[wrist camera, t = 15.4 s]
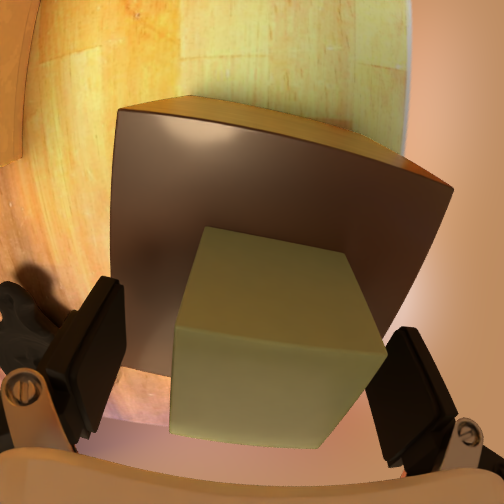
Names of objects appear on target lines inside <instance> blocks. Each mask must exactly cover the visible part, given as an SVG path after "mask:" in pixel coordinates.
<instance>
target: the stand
mask: <svg viewBox="0 0 504 504" xmlns="http://www.w3.org/2000/svg"><path fill="white" fill-rule="evenodd" d="M453 192H454V188H452V187H451V186H450V185H449V184H447V183H446V182H444V181H442V180H441V179H439V178H438V177H436V176H435V175H433V174H431V173H430V172H428V171H427V170H425V169H423V168H421V167H420V166H418V165H417V164H415V163H413V162H412V161H410V160H408V159H406V158H405V157H403V156H401V155H399V154H398V153H396V152H394V151H392V150H391V149H389V148H387V147H385V146H383V145H381V144H379V143H378V142H376V141H374V140H372V139H370V138H368V137H366V136H364V135H362V134H360V133H357V132H354V131H350V130H347V129H344V128H340V127H337V126H334V125H330V124H326V123H323V122H319V121H316V120H312V119H308V118H304V117H300V116H296V115H292V114H288V113H284V112H279V111H275V110H271V109H266V108H261V107H256V106H252V105H246V104H241V103H236V102H230V101H225V100H219V99H213V98H206V97H200V96H193V95H187V96H181V97H175V98H169V99H163V100H158V101H152V102H147V103H142V104H137V105H133V106H128V107H124V108H120V109H118V112H117V120H116V129H115V139H114V150H113V163H112V179H111V202H110V268H111V278H114V279H118V280H119V283H120V284H121V285H124V296H125V322H126V339H127V347H126V352H125V355H124V358H123V360H122V363H121V365H120V366H124V367H128V368H132V369H136V370H140V371H145V372H149V373H153V374H158V375H162V376H167V377H171V370H172V354H173V339H174V326H175V323H176V319H177V316H178V312H179V309H180V305H181V302H182V299H183V295H184V292H185V289H186V285H187V282H188V279H189V275H190V272H191V269H192V266H193V263H194V259H195V256H196V253H197V250H198V247H199V244H200V240H201V237H202V234H203V231H204V228H205V227H206V226H208V227H213V228H218V229H224V230H229V231H234V232H239V233H245V234H250V235H255V236H260V237H265V238H270V239H275V240H281V241H286V242H291V243H296V244H301V245H306V246H311V247H316V248H321V249H325V250H330V251H335V252H340V253H344V254H345V256H346V258H347V260H348V262H349V264H350V267H351V269H352V271H353V273H354V275H355V278H356V280H357V282H358V284H359V286H360V289H361V291H362V293H363V296H364V298H365V300H366V302H367V305H368V307H369V309H370V312H371V314H372V316H373V319H374V321H375V324H376V326H377V328H378V331H379V333H380V336H381V338H382V339H383V337H384V335H385V334H386V332H387V330H388V329H389V327H390V325H391V323H392V322H393V320H394V318H395V316H396V315H397V313H398V311H399V309H400V307H401V305H402V304H403V302H404V300H405V298H406V296H407V294H408V292H409V290H410V288H411V287H412V285H413V283H414V281H415V278H416V277H417V275H418V272H419V270H420V268H421V266H422V264H423V262H424V260H425V258H426V256H427V254H428V252H429V249H430V247H431V245H432V243H433V240H434V238H435V236H436V234H437V231H438V229H439V227H440V224H441V222H442V219H443V217H444V215H445V212H446V210H447V207H448V205H449V202H450V199H451V197H452V194H453Z"/></svg>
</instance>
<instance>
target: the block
mask: <svg viewBox="0 0 504 504" xmlns="http://www.w3.org/2000/svg"><path fill="white" fill-rule="evenodd" d="M387 355H388V353H387V351H386V348H385V346H384V343H383V341H382V338H381V336H380V333H379V331H378V328H377V326H376V324H375V321H374V319H373V316H372V314H371V312H370V309H369V307H368V305H367V302H366V300H365V298H364V296H363V293H362V291H361V289H360V286H359V284H358V282H357V280H356V278H355V275H354V273H353V271H352V269H351V267H350V264H349V262H348V260H347V258H346V256H345V254H344V253H340V252H335V251H330V250H325V249H321V248H316V247H311V246H306V245H301V244H296V243H291V242H286V241H281V240H275V239H270V238H265V237H260V236H255V235H250V234H245V233H239V232H234V231H229V230H224V229H218V228H213V227H208V226H206V227H205V228H204V231H203V234H202V237H201V240H200V244H199V247H198V250H197V253H196V256H195V259H194V263H193V266H192V269H191V272H190V275H189V279H188V282H187V285H186V289H185V292H184V295H183V299H182V302H181V305H180V309H179V312H178V316H177V319H176V323H175V326H174V339H173V354H172V370H171V390H170V417H169V432H170V433H171V434H175V435H180V436H185V437H191V438H197V439H203V440H210V441H217V442H224V443H232V444H241V445H252V446H263V447H277V448H298V449H317V448H319V447H320V445H321V444H322V443H323V442H324V441H325V439H326V438H327V437H328V436H329V435H330V434H331V432H332V431H333V430H334V429H335V427H336V426H337V425H338V424H339V422H340V421H341V420H342V419H343V417H344V416H345V415H346V414H347V412H348V411H349V409H350V408H351V407H352V406H353V404H354V403H355V402H356V400H357V399H358V398H359V396H360V395H361V394H362V392H363V391H364V389H365V388H366V387H367V385H368V384H369V382H370V381H371V380H372V378H373V377H374V375H375V374H376V372H377V371H378V369H379V368H380V366H381V365H382V363H383V362H384V360H385V359H386V357H387Z"/></svg>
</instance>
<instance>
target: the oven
mask: <svg viewBox="0 0 504 504" xmlns="http://www.w3.org/2000/svg"><path fill="white" fill-rule="evenodd" d="M39 4H40V0H0V168H1V167H3V166H5V165H7V164H10V163H12V162H14V161H16V160H18V159H20V158H22V124H23V106H24V93H25V83H26V74H27V67H28V60H29V53H30V47H31V41H32V36H33V31H34V26H35V21H36V17H37V12H38V8H39Z"/></svg>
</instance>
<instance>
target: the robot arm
mask: <svg viewBox="0 0 504 504" xmlns="http://www.w3.org/2000/svg"><path fill="white" fill-rule="evenodd" d="M126 347H127V339H126V322H125V296H124V285H121V284H120V283H119V280H118V279H114V278H110V277H106V276H101V277H100V278H99V280H98V281H97V283H96V284H95V286H94V287H93V289H92V290H91V292H90V293H89V295H88V297H87V298H86V300H85V301H84V303H83V304H82V306H81V308H80V309H79V311H76V310H72V311H71V312H70V313H69V314H68V316H67V318H66V319H65V321H64V322H63V324H62V325H61V327H60V329H59V330H58V332H57V334H56V335H55V337H54V338H53V340H52V342H51V343H50V345H49V347H48V348H47V350H46V352H45V354H44V355H43V357H42V359H41V360H40V362H39V364H38V366H37V368H36V369H35V370H33V369H30V368H18V369H16V370H13V371H11V372H10V373H9V374H7V375H6V377H5V378H4V379H3V381H2V384H1V391H0V504H504V459H503V458H502V457H501V456H499V455H498V454H496V453H495V452H493V451H492V450H490V449H488V448H487V447H485V446H484V445H483V433H482V430H481V428H480V427H479V426H478V424H477V423H476V422H474V421H473V420H471V419H469V418H461V419H458V420H457V421H455V417H456V416H457V415H458V411H457V409H456V407H455V405H454V403H453V400H452V398H451V396H450V394H449V392H448V389H447V387H446V385H445V383H444V381H443V379H442V377H441V375H440V373H439V371H438V369H437V366H436V364H435V362H434V360H433V358H432V356H431V354H430V352H429V351H428V349H427V347H426V345H425V343H424V341H423V339H422V337H421V335H420V333H419V332H418V330H417V329H416V328H414V327H404V326H402V327H400V328H399V329H398V330H396V331H395V332H394V334H393V335H392V337H391V339H390V340H389V342H388V343H387V345H386V347H385V348H386V351H387V353H388V355H387V357H386V359H385V360H384V362H383V363H382V365H381V366H380V368H379V369H378V371H377V372H376V374H375V375H374V377H373V378H372V380H371V381H370V382H369V384H368V385H367V387H366V388H365V391H366V394H367V398H368V401H369V405H370V408H371V412H372V416H373V419H374V423H375V427H376V431H377V434H378V438H379V442H380V446H381V450H382V454H383V458H384V459H385V461H387V463H388V467H389V468H393V467H400V466H402V465H404V471H403V473H402V475H401V477H400V478H398V479H392V480H385V481H377V482H369V483H358V484H347V485H331V486H300V487H299V486H298V487H297V486H295V487H294V486H287V487H286V486H259V485H243V484H232V483H222V482H213V481H205V480H198V479H191V478H184V477H179V476H173V475H168V474H163V473H158V472H152V471H148V470H143V469H138V468H134V467H130V466H126V465H122V464H118V463H114V462H110V461H106V460H102V459H98V458H94V457H90V456H86V455H83V454H79V453H78V451H77V449H76V447H75V444H77V443H78V441H79V438H80V437H82V438H86V439H89V437H90V434H91V432H93V433H96V432H97V430H98V427H99V424H100V421H101V418H102V415H103V412H104V409H105V406H106V404H107V401H108V398H109V395H110V392H111V390H112V387H113V384H114V381H115V379H116V376H117V373H118V371H119V368H120V365H121V363H122V360H123V358H124V355H125V352H126Z"/></svg>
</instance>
